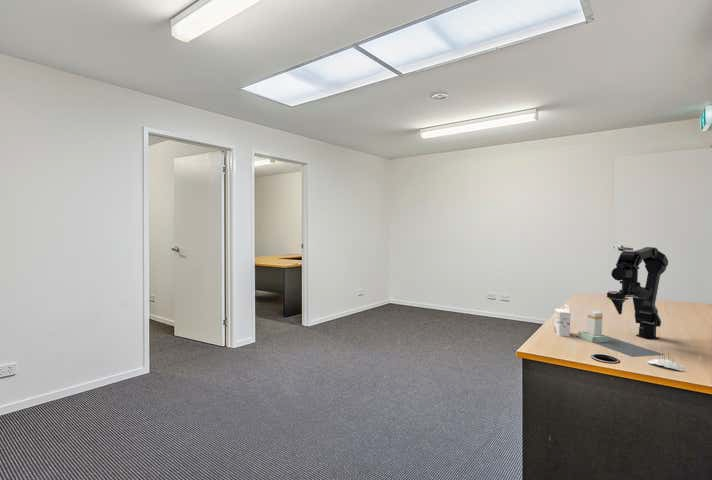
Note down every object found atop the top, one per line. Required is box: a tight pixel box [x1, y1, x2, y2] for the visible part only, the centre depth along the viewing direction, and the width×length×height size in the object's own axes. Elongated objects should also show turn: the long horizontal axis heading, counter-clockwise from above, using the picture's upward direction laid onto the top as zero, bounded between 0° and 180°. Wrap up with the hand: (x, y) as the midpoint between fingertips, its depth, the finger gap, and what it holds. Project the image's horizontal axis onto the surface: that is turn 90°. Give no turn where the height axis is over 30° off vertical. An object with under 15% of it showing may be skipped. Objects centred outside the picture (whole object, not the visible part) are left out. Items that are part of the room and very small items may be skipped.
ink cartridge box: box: [553, 303, 571, 337], centre depth 189 cm, size 9×5×15 cm, turn 168°
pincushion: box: [646, 352, 687, 373], centre depth 145 cm, size 12×6×6 cm, turn 37°
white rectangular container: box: [586, 310, 603, 336], centre depth 180 cm, size 5×5×12 cm
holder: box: [577, 330, 610, 344], centre depth 180 cm, size 9×9×2 cm
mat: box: [574, 334, 666, 358], centre depth 172 cm, size 16×30×1 cm, turn 13°
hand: (628, 314), depth 177 cm, fingers open, 9 cm apart
